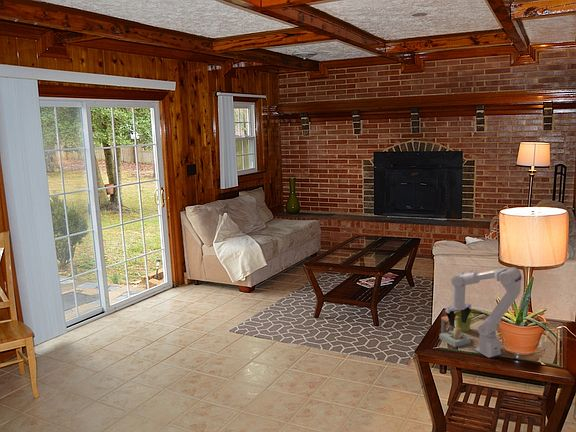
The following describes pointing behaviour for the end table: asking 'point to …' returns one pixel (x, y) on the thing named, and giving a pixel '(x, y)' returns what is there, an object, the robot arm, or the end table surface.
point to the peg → (457, 333)
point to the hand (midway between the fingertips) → (457, 323)
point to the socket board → (449, 339)
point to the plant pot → (460, 324)
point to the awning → (443, 324)
